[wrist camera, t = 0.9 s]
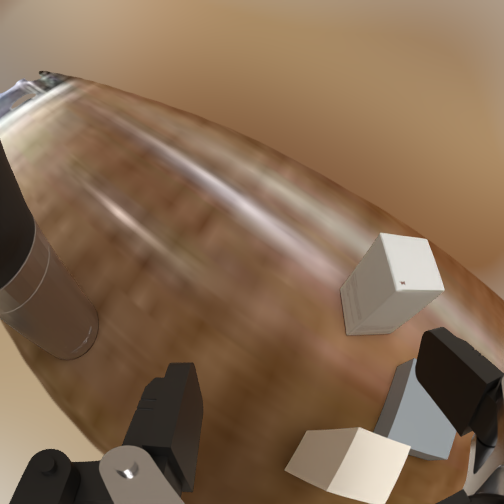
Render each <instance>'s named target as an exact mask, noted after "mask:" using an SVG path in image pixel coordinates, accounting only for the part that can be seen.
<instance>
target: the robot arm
mask: <svg viewBox="0 0 504 504" xmlns="http://www.w3.org/2000/svg"><path fill="white" fill-rule="evenodd" d="M0 319H2V320H3V321H4V322H6V323H7V324H8V325H10V326H11V327H12V328H14V329H15V330H16V331H18V332H19V333H20V334H22V335H23V336H25V337H26V338H27V339H29V340H30V341H32V342H33V343H35V344H36V345H38V346H39V347H41V348H42V349H44V350H45V351H47V352H48V353H50V354H52V355H53V356H55V357H57V358H60V359H65V360H69V359H75V358H77V357H80V356H81V355H83V354H84V353H86V352H87V350H88V349H89V348H90V347H91V346H92V344H93V343H94V341H95V338H96V336H97V332H98V316H97V312H96V310H95V308H94V306H93V305H92V303H91V302H90V301H89V299H88V298H87V297H86V295H85V294H84V293H83V291H82V290H81V289H80V287H79V286H78V285H77V283H76V282H75V280H74V279H73V278H72V276H71V275H70V273H69V272H68V271H67V269H66V268H65V266H64V265H63V263H62V262H61V260H60V259H59V257H58V256H57V254H56V253H55V251H54V250H53V248H52V247H51V245H50V244H49V242H48V240H47V239H46V237H45V236H44V234H43V233H42V231H41V229H40V228H39V226H38V224H37V223H36V221H35V219H34V217H33V216H32V214H31V212H30V210H29V208H28V207H27V204H26V202H25V200H24V198H23V195H22V193H21V190H20V188H19V185H18V183H17V181H16V178H15V176H14V174H13V171H12V169H11V167H10V165H9V162H8V160H7V157H6V155H5V152H4V149H3V146H2V143H1V140H0ZM415 374H416V378H417V380H418V382H419V383H420V384H421V386H422V387H423V388H424V389H425V391H426V392H427V393H428V394H429V396H430V397H431V398H432V400H433V401H434V402H435V403H436V405H437V406H438V407H439V409H440V410H441V411H442V412H443V414H444V415H445V416H446V418H447V419H448V420H449V422H450V423H451V424H452V426H453V427H454V428H455V430H456V431H457V432H458V434H459V435H460V436H463V435H465V434H467V433H469V432H471V431H474V433H475V434H474V435H473V437H472V440H471V449H470V458H469V466H468V473H467V479H466V482H465V485H464V487H463V489H462V490H461V491H459V492H457V493H455V494H453V495H452V496H450V497H448V498H446V499H444V500H442V501H440V502H438V503H436V504H504V373H503V372H501V371H500V370H499V369H498V368H497V367H496V366H495V365H493V364H492V363H491V362H490V361H489V360H488V359H486V358H485V357H484V356H483V355H482V356H481V353H479V352H478V351H477V350H474V348H473V347H472V346H471V345H470V344H469V343H467V342H466V341H464V340H462V339H460V338H457V337H456V336H454V335H453V334H452V333H451V332H450V331H448V330H447V329H446V328H444V327H440V328H436V329H432V330H429V331H426V332H424V334H423V336H422V340H421V344H420V349H419V353H418V357H417V362H416V366H415ZM202 418H203V400H202V395H201V391H200V387H199V382H198V378H197V374H196V369H195V366H194V363H170V364H169V366H168V369H167V371H166V374H165V377H164V378H154V379H153V380H152V381H151V382H150V383H149V384H148V385H147V386H146V387H145V389H144V392H143V394H142V397H141V401H139V404H138V406H137V410H136V411H135V414H134V416H133V419H132V421H131V424H130V426H129V429H128V431H127V434H126V436H125V439H124V442H123V444H122V446H119V447H116V448H113V449H111V450H110V451H108V452H107V453H106V454H105V455H104V456H103V457H102V459H101V460H100V461H91V462H71V461H70V459H69V458H68V457H67V456H66V455H65V454H64V453H63V452H61V451H59V450H55V449H46V450H42V451H40V452H38V453H36V454H35V455H34V456H33V457H32V458H31V460H30V461H29V463H28V465H27V467H26V469H25V471H24V473H23V475H22V478H21V480H20V482H19V484H18V486H17V488H16V490H15V492H14V495H13V497H12V499H11V501H10V503H9V504H185V503H184V502H183V501H182V500H181V493H182V492H193V487H194V479H195V471H196V463H197V455H198V448H199V440H200V433H201V425H202Z"/></svg>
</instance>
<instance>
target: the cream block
mask: <svg viewBox="0 0 504 504" xmlns="http://www.w3.org/2000/svg"><path fill="white" fill-rule="evenodd" d="M410 448H411V446H408V445H405V444H402V443H400V442H397V441H394V440H391V439H388V438H386V437H383V436H380V435H378V434H375V433H372V432H370V431H367V430H365V429H362V428H360V427H356V428H345V429H332V430H310V431H306V433H305V435H304V437H303V439H302V440H301V442H300V444H299V446H298V448H297V449H296V451H295V453H294V454H293V456H292V458H291V460H290V461H289V463H288V465H287V466H286V468H285V471H287V472H288V473H290V474H292V475H294V476H296V477H298V478H300V479H302V480H304V481H306V482H308V483H310V484H312V485H314V486H316V487H319V488H321V489H323V490H325V491H328V492H331V493H334V494H338V495H341V496H344V497H348V498H352V499H355V500H359V501H363V502H367V503H372V504H385V502H386V501H387V499H388V497H389V495H390V493H391V491H392V489H393V487H394V485H395V483H396V481H397V478H398V476H399V474H400V472H401V470H402V467H403V465H404V463H405V460H406V458H407V455H408V453H409V450H410Z"/></svg>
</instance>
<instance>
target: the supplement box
mask: <svg viewBox="0 0 504 504" xmlns="http://www.w3.org/2000/svg"><path fill="white" fill-rule="evenodd" d="M444 290H445V289H444V286H443V283H442V280H441V277H440V274H439V271H438V268H437V265H436V262H435V260H434V257H433V254H432V251H431V249H430V246H429V243H428V241H427V239H422V238H414V237H407V236H399V235H393V234H386V233H380V234H379V235H378V237H377V238H376V240H375V241H374V243H373V244H372V246H371V247H370V249H369V250H368V251H367V253H366V254H365V256H364V257H363V258H362V260H361V261H360V263H359V264H358V265H357V267H356V268H355V269H354V271H353V272H352V273H351V275H350V276H349V278H348V279H347V280H346V281H345V283H344V284H343V285H342V287H341V288H340V292H341V299H342V305H343V312H344V320H345V327H346V334H347V335H374V334H390V333H392V332H393V331H395V330H396V329H397V328H399V327H400V326H401V325H403V324H404V323H405V322H407V321H408V320H409V319H411V318H412V317H413V316H414V315H416V314H417V313H418V312H420V311H421V310H422V309H423V308H425V307H426V306H427V305H428V304H429V303H431V302H432V301H433V300H434V299H435V298H437V297H438V296H439V295H440V294H441V293H442V292H444Z"/></svg>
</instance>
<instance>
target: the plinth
mask: <svg viewBox="0 0 504 504" xmlns="http://www.w3.org/2000/svg"><path fill="white" fill-rule="evenodd" d="M416 362H417V359H415V358H413V359H411V360H409V361H407V362H405V363H403V364H401V365H399V366H397V369H396V372H395V375H394V378H393V382H392V385H391V387H390V390H389V393H388V396H387V399H386V401H385V404H384V407H383V409H382V412H381V415H380V417H379V420H378V422H377V425H376V427H375V429H374V432H373V433H375V434H378V435H380V436H383V437H386V438H388V439H391V440H394V441H397V442H400V443H402V444H405V445H408V446H411V448H410V450H409V453H408V455H412V456H415V457H418V458H422V459H425V460H446V459H448V456H449V453H450V450H451V447H452V444H453V440H454V437H455V434H456V430H455V428H454V427H453V426H452V424H451V423H450V422H449V420H448V419H447V418H446V416H445V415H444V414H443V412H442V411H441V410H440V409H439V407H438V406H437V405H436V403H435V402H434V401H433V400H432V398H431V397H430V396H429V394H428V393H427V392H426V391H425V389H424V388H423V387H422V386H421V384H420V383H419V382H418V380H417V378H416V374H415V366H416Z"/></svg>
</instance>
